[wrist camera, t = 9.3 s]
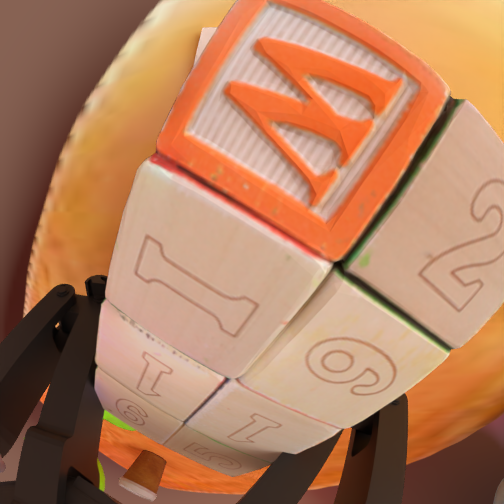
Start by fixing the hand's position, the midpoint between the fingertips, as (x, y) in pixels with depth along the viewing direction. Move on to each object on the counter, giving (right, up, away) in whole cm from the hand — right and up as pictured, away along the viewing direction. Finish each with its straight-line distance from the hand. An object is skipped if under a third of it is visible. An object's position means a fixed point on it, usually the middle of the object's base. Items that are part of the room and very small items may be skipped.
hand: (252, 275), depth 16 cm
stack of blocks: (0, 0, +2) cm, 2 cm away
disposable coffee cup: (-23, -47, +32) cm, 62 cm away
